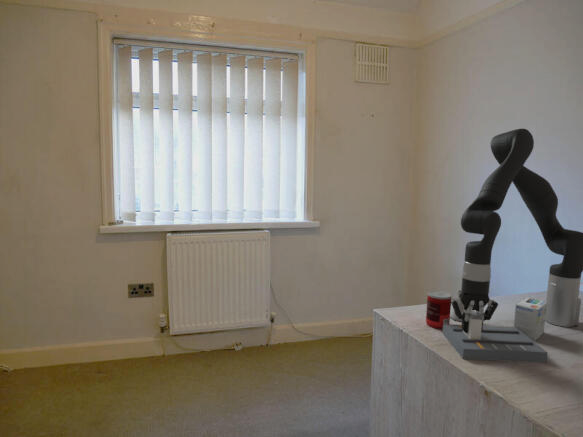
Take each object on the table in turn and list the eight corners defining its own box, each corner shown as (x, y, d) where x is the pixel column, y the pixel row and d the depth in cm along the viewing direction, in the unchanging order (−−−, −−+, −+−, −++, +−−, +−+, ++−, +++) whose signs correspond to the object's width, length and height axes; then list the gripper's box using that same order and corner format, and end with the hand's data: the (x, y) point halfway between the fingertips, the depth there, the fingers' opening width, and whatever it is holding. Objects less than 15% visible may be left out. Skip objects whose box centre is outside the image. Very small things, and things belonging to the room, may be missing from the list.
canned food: (448, 322, 141) (451, 291, 139) (449, 330, 133) (452, 298, 132) (425, 319, 143) (427, 289, 142) (425, 327, 136) (427, 295, 134)
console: (514, 335, 130) (515, 325, 130) (546, 362, 112) (547, 350, 112) (442, 332, 131) (443, 322, 131) (462, 358, 114) (463, 346, 113)
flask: (466, 315, 148) (468, 289, 147) (473, 322, 141) (475, 295, 140) (446, 314, 149) (448, 288, 147) (452, 321, 141) (454, 294, 140)
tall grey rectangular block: (472, 331, 125) (474, 311, 124) (480, 340, 119) (482, 318, 118) (462, 331, 125) (463, 310, 124) (469, 339, 119) (471, 318, 118)
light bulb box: (522, 326, 138) (525, 296, 137) (544, 333, 133) (548, 301, 132) (511, 335, 131) (515, 303, 129) (535, 342, 126) (538, 309, 125)
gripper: (494, 274, 123) (489, 328, 125) (447, 272, 123) (443, 326, 126) (506, 281, 115) (501, 338, 118) (456, 279, 116) (452, 336, 118)
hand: (471, 332), depth 122 cm, fingers closed on tall grey rectangular block, 3 cm apart
